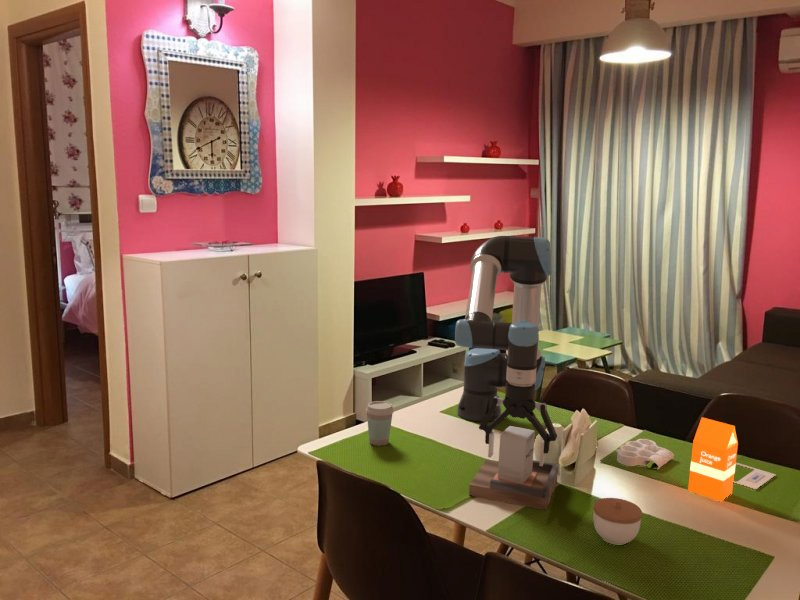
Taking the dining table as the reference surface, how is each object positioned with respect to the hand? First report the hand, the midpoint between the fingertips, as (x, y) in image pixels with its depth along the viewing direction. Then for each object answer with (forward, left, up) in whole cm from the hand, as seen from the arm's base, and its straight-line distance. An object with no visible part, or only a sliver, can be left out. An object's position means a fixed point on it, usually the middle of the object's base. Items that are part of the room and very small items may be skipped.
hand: (515, 459), depth 188 cm
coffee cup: (-15, -45, -8) cm, 48 cm away
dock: (0, 0, -8) cm, 8 cm away
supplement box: (0, 0, -5) cm, 5 cm away
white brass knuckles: (-36, +31, -9) cm, 48 cm away
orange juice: (-19, +49, -8) cm, 53 cm away
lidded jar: (+17, +27, -8) cm, 33 cm away
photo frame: (-36, +56, -9) cm, 67 cm away
